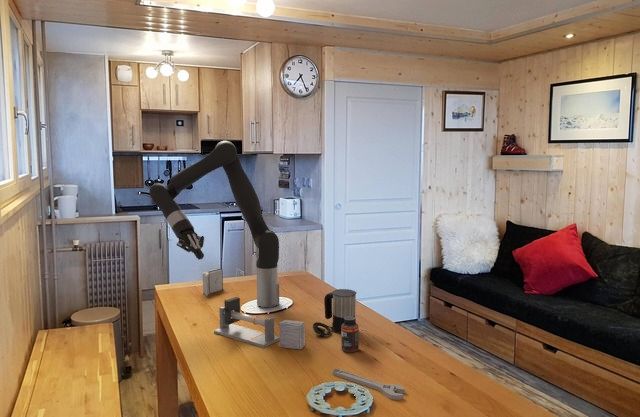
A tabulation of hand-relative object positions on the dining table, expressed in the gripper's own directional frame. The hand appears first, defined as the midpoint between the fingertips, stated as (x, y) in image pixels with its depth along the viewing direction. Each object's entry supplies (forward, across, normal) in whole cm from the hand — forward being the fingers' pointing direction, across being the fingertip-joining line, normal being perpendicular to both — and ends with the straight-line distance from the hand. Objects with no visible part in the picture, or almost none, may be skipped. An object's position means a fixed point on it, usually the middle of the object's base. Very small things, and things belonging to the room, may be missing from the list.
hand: (201, 258), depth 199 cm
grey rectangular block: (-3, +33, +40) cm, 52 cm away
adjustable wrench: (+75, -6, -37) cm, 84 cm away
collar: (+27, 0, +4) cm, 28 cm away
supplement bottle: (+62, +12, -25) cm, 68 cm away
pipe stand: (+35, 0, +2) cm, 35 cm away
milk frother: (+52, +23, -15) cm, 59 cm away
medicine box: (+49, +2, -12) cm, 51 cm away
